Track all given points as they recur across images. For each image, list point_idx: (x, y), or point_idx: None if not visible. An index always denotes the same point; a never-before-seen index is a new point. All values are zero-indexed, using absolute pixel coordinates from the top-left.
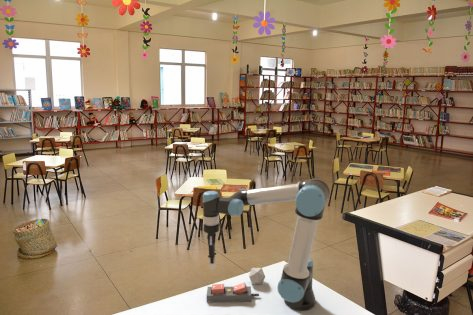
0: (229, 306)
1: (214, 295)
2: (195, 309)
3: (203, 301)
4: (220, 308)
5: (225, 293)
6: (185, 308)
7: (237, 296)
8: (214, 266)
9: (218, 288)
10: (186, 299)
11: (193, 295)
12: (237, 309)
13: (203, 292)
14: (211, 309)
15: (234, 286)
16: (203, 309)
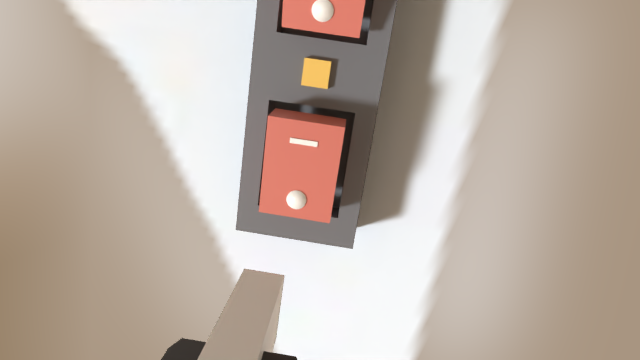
0: (433, 84)
1: (361, 194)
2: (417, 298)
3: None
4: (442, 149)
5: (348, 107)
6: (394, 348)
7: (393, 10)
8: (276, 300)
9: (329, 169)
10: (303, 338)
11: None
12: (483, 29)
13: (239, 238)
14: (439, 207)
15: (292, 19)
16: (428, 254)
